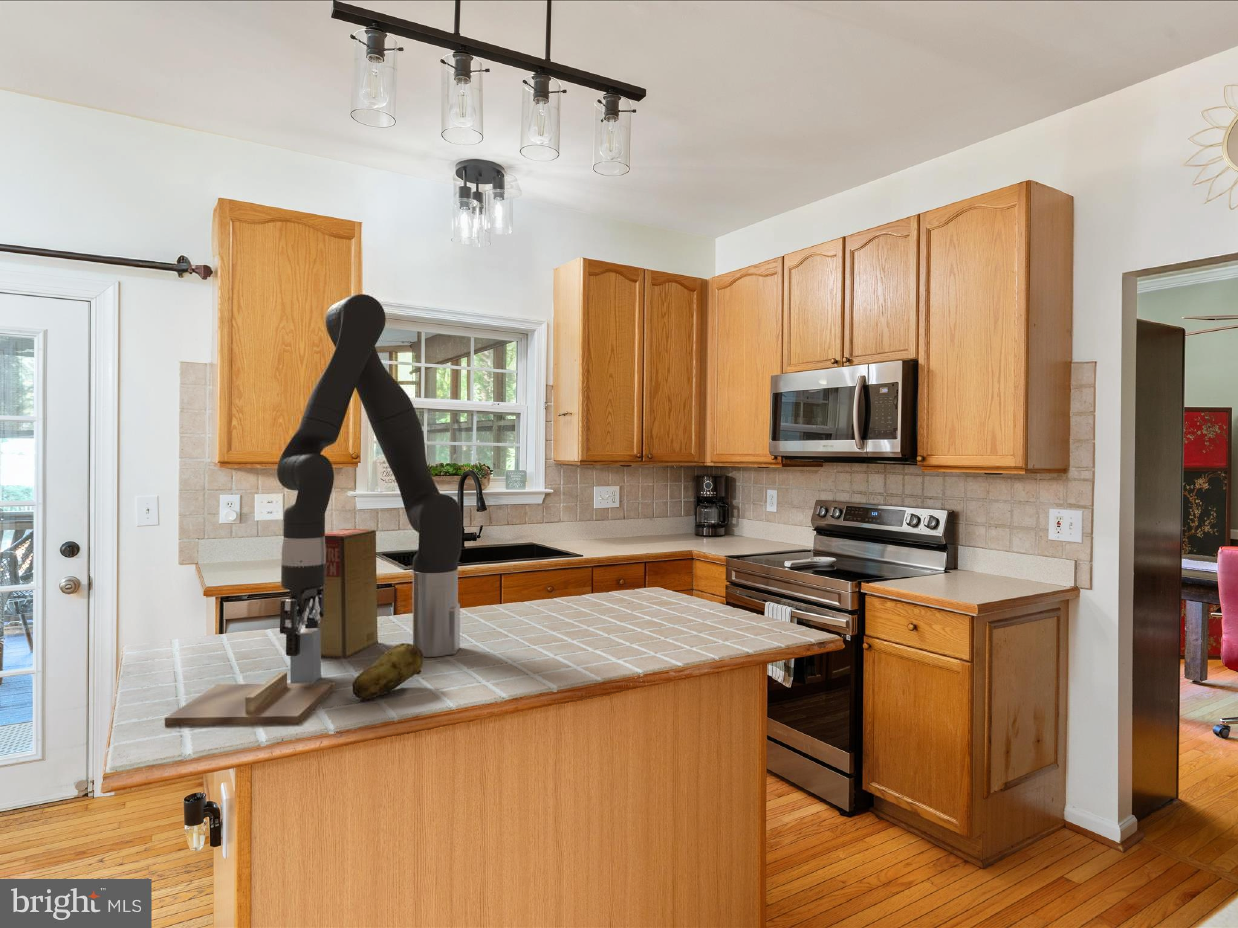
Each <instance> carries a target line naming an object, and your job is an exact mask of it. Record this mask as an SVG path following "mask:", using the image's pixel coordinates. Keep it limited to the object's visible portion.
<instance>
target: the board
mask: <svg viewBox="0 0 1238 928" xmlns="http://www.w3.org/2000/svg"><path fill="white" fill-rule="evenodd" d="M333 691H334V682H320V683H319V682H318V683H317V682H314V683H288V672H287V671H279V672H278V673H277V674H275V675H274V676H273V677H271V678H270V679H268V680H267V681H266V682H264V683H232V684H228V683H227V684H226V683H225V684H224V683H221V684H216V685H214V686H213V687H211V688H209V689H208V690H206V691H205V692H203V693H201V694H200V695H198V696H197V697H195V698H193V699H192V700H191V701H189V702H188V703H186V704H184V705H183V706H181V707H180V708H178V709H177V710H175V711H173V712H171V713H169V715H167V716H166V717H164V726H165V727H166V726H167V727H172V726H174V727H175V726H180V727H181V726H230V725H231V726H235V725H236V726H237V725H238V726H239V725H241V726H242V725H244V726H245V725H247V726H248V725H295V724H296V725H298V724H299V723H300V722H301V721H302V720H304V719H305V718H306V717H307V716H308V715H309V714H310V713H311V712H312V711H313V710H314V709H315V708H316V707H317V706H319V704H320V703H321V702H322V701H324V700H325V699H326V698H327V696H329V695H330V694H331V693H332V692H333Z"/></svg>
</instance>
